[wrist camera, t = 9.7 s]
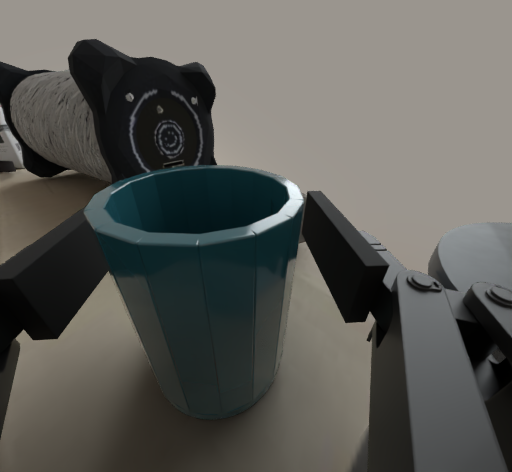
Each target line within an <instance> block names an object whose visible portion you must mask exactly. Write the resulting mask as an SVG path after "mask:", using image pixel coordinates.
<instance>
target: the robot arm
mask: <svg viewBox="0 0 512 472" xmlns="http://www.w3.org/2000/svg"><path fill="white" fill-rule="evenodd" d="M85 208H86V206H85V207H84V208H82V209H81V210H80V211H78V212H77V213H75V214H74V215H73V216H71V217H70V218H68V219H67V220H65V221H64V222H63V223H61V224H60V225H58V226H57V227H56V228H54V229H53V230H51V231H50V232H48V233H47V234H46V235H44V236H43V237H41V238H40V239H39V240H37V241H36V242H34V243H33V244H31V245H29V246H27V247H26V248H24V249H23V250H21V251H20V252H18V253H17V254H16V256H13V257H11V258H10V259H8V260H7V261H6V263H3V264H1V265H0V438H1V434H2V429H3V425H4V420H5V416H6V411H7V406H8V402H9V397H10V393H11V388H12V384H13V379H14V375H15V370H16V366H17V361H18V357H19V352H20V343H19V342H18V341H17V340H16V339H15V338H16V337H17V336H18V335H19V334H20V333H21V332H22V330H23V329H24V330H25V331H26V332H27V334H28V335H29V336H30V337H31V338H32V339H33V340H47V339H58V337H59V336H60V335H61V333H62V332H63V331H64V329H65V328H66V327H67V325H68V324H69V323H70V321H71V320H72V318H73V317H74V316H75V314H76V313H77V312H78V310H79V309H80V308H81V306H82V305H83V304H84V302H85V301H86V300H87V298H88V297H89V296H90V294H91V293H92V292H93V290H94V289H95V288H96V286H97V285H98V284H99V282H100V281H101V280H102V278H103V277H104V276H105V274H106V273H107V272H108V269H107V266H106V264H105V262H104V259H103V257H102V255H101V252H100V250H99V248H98V246H97V243H96V241H95V239H94V236H93V234H92V232H91V230H90V227H89V225H88V223H87V220H86V218H85V216H84V209H85ZM301 233H302V235H303V237H304V239H305V241H306V243H307V245H308V247H309V249H310V251H311V253H312V255H313V257H314V259H315V262H316V264H317V266H318V268H319V270H320V272H321V274H322V276H323V278H324V280H325V282H326V284H327V286H328V288H329V290H330V292H331V294H332V296H333V298H334V300H335V302H336V304H337V306H338V308H339V310H340V312H341V315H342V317H343V319H344V321H345V323H353V322H365V321H366V319H367V316H368V314H369V312H371V313H372V315H373V317H374V318H375V323H374V325H373V327H372V329H371V331H370V333H369V335H368V338H367V341H369V342H370V340H371V338H372V357H371V385H370V413H369V441H368V469H367V472H512V291H511V290H509V289H507V288H505V287H502V286H499V285H496V284H491V283H486V282H477V283H475V284H473V285H472V286H471V287H470V289H469V290H468V292H467V293H465V292H460V291H454V290H449V289H444V287H443V286H442V284H440V283H439V282H438V281H437V280H436V279H434V278H432V277H430V276H429V275H426V274H424V273H421V272H418V271H413V270H407V269H406V268H405V267H404V266H403V265H402V264H401V263H400V262H399V261H398V260H397V259H396V258H395V257H394V256H393V255H392V254H391V253H390V252H389V251H387V249H386V248H385V247H384V246H383V245H381V243H380V242H379V241H378V240H377V239H376V238H375V237H374V236H372V235H370V234H368V233H367V232H365V231H357V230H356V228H355V227H354V226H353V225H352V224H351V223H350V222H349V221H348V220H347V219H346V218H345V217H344V216H343V214H342V213H341V212H340V211H339V210H338V209H337V208H336V207H335V206H334V205H333V204H332V203H331V202H330V200H329V199H328V198H327V197H326V196H325V195H324V194H323V193H322V192H321V191H308V192H307V199H306V205H305V212H304V219H303V225H302V232H301ZM498 347H499V349H500V350H501V351H502V353H503V354H504V355H505V357H506V358H505V359H504V360H503V361H502V362H501V363H498V362H497V361H496V360H495V358H494V357H493V356H492V353H493V352H494V351H495V350H496V349H497V348H498Z"/></svg>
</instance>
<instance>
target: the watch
mask: <svg viewBox="0 0 512 472" xmlns="http://www.w3.org/2000/svg"><path fill="white" fill-rule="evenodd" d="M14 171H16V170H15V166H14V163H13V161H0V172H14Z"/></svg>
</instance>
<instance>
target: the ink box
mask: <svg viewBox="0 0 512 472" xmlns="http://www.w3.org/2000/svg"><path fill="white" fill-rule="evenodd" d="M0 161H13V163H14V166H15V168H25V167H24V165H23V160H22V151H21V146H20V145H19V143H18V141H17V140H16V139H15V137H14V136H13V135H12V133H11V131H10V129H9V127H8V126H7V124H6V122H5V118H4V114H3V110H2V107H1V105H0Z"/></svg>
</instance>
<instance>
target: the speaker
mask: <svg viewBox="0 0 512 472" xmlns="http://www.w3.org/2000/svg"><path fill="white" fill-rule="evenodd" d="M68 62H69V70H65V71H59V72H56V71H49V70H35V71H26V70H23V69H20V68H17V67H15V66H12V65H9V64H6V63H3V62H0V105H1V107H2V110H3V114H4V118H5V122H6V124H7V126H8V127H9V129H10V131H11V133H12V135H13V136H14V137H15V139H16V140H17V141H18V143H19V145H20V146H21V151H22V160H23V165H24V167H25V168H26V169H27V170H28V171H29V172H31V173H33V174H35V175H37V176H39V177H53V176H55V175H57V174H59V173H61V172H63V171H66V170H75V171H78V172H81V173H83V174H87V175H89V176H91V177H95V178H98V179H100V180H103V181H107V182H109V183H111V185H112V184H114V183H116V182H118V181H120V180H123V179H127V178H130V177H133V176H136V175H140V174H143V173H147V172H151V171H157V170H163V169H168V168H174V167H184V166H199V165H217V163H216V161H215V158H214V152H213V150H214V129H213V124H212V118H211V108H212V105H213V102H214V99H215V95H216V93H215V86H214V84H213V82H212V80H211V78H210V76H209V74H208V73H207V71H206V69H205V68H204V66H203V65H201V64H199V63H198V62H193V63H189V64H186V65H183V66H176V65H174V64H172V63H170V62H168V61H166V60H162V59H157V58H154V57H146V58H133V57H129V56H127V55H125V54H123V53H121V52H119V51H118V50H116V49H114V48H112V47H110V46H108V45H106V44H104V43H102V42H101V41H99V40H97V39H91V40H82V41H79V42H77V43H76V45H75V46H74V48H73V50H72V52H71V53H70V55H69V57H68Z"/></svg>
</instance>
